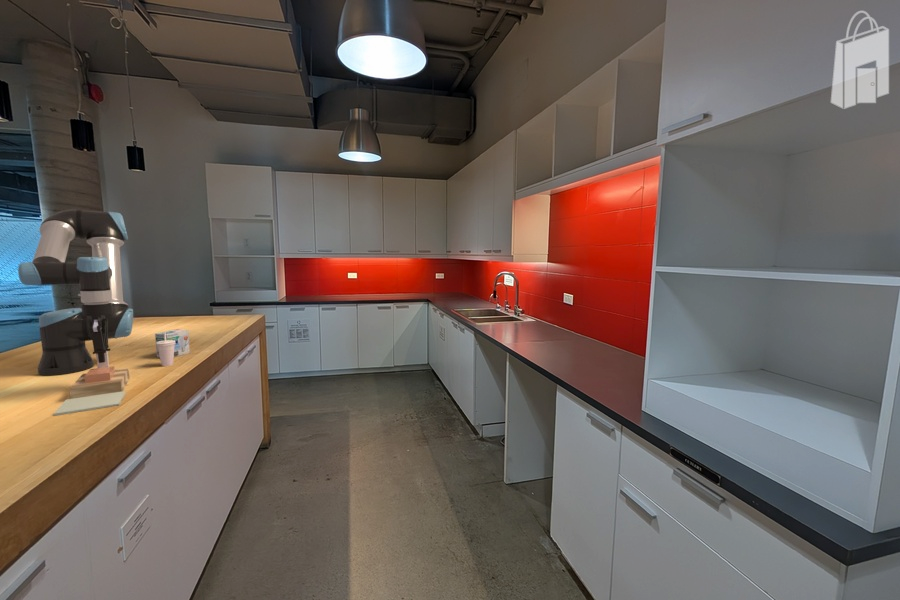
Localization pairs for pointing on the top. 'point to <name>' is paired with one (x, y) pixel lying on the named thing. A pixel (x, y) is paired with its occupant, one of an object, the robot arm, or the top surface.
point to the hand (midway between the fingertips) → (103, 370)
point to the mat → (90, 403)
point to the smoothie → (166, 351)
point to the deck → (100, 385)
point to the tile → (99, 374)
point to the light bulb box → (176, 341)
